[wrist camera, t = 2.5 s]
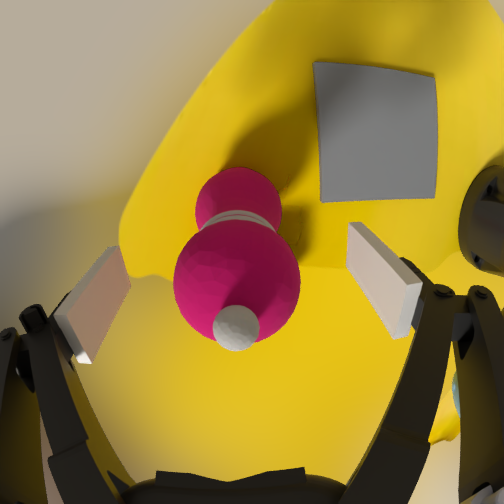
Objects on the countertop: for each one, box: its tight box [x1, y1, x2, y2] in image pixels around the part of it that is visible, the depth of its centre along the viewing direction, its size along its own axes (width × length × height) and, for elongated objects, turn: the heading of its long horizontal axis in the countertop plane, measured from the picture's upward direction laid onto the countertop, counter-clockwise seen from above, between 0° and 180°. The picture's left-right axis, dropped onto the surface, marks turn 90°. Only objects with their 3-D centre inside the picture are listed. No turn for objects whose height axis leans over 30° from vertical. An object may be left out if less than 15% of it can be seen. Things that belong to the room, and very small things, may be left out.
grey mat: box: [313, 62, 438, 203], centre depth 25 cm, size 14×14×1 cm
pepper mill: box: [173, 167, 301, 351], centre depth 19 cm, size 7×7×20 cm
